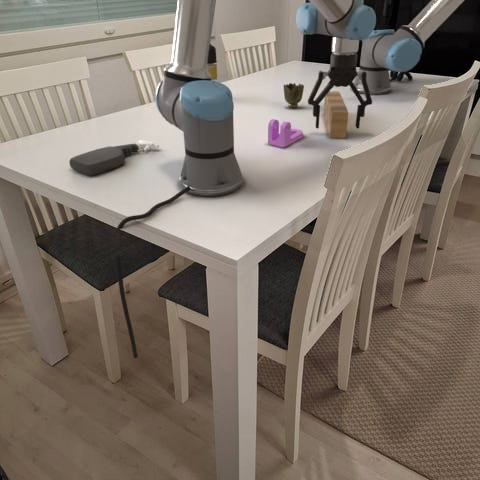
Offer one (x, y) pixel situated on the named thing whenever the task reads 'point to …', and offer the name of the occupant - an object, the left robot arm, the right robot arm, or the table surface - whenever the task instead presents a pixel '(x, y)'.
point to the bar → (335, 115)
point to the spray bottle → (106, 157)
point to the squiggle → (400, 75)
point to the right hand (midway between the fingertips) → (364, 15)
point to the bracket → (282, 134)
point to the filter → (210, 66)
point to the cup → (293, 94)
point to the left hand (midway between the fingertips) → (337, 127)
